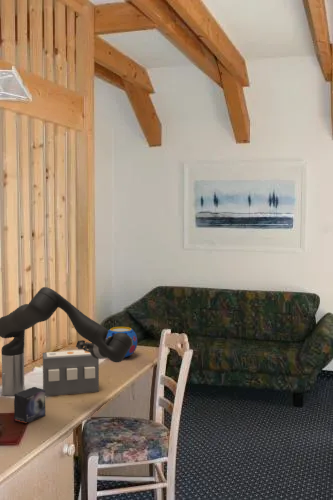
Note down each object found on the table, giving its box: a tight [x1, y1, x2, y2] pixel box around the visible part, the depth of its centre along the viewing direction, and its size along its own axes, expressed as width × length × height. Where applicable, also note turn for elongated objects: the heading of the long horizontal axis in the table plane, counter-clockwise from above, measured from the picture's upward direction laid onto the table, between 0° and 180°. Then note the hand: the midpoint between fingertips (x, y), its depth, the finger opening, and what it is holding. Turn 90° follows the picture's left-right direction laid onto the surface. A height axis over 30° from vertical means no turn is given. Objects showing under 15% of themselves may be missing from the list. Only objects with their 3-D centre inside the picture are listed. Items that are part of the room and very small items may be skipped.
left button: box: [48, 368, 59, 381], centre depth 239 cm, size 4×3×4 cm
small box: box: [13, 386, 46, 424], centre depth 214 cm, size 11×6×10 cm, turn 148°
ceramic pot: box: [106, 326, 138, 358], centre depth 300 cm, size 18×18×15 cm
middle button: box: [66, 367, 78, 380], centre depth 240 cm, size 4×3×4 cm
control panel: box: [42, 349, 100, 397], centre depth 246 cm, size 23×10×17 cm, turn 105°
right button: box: [84, 366, 95, 379], centre depth 242 cm, size 4×3×4 cm
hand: (88, 350), depth 232 cm, fingers open, 8 cm apart
